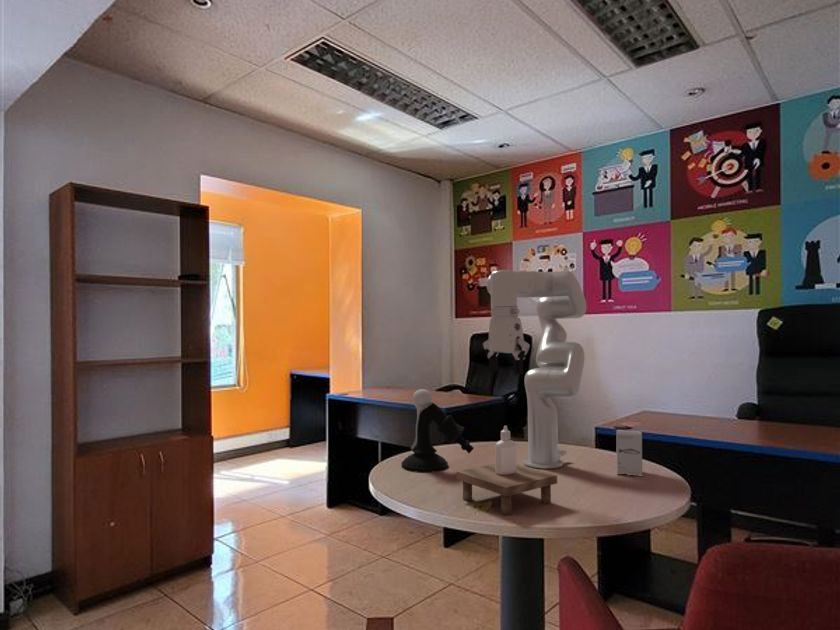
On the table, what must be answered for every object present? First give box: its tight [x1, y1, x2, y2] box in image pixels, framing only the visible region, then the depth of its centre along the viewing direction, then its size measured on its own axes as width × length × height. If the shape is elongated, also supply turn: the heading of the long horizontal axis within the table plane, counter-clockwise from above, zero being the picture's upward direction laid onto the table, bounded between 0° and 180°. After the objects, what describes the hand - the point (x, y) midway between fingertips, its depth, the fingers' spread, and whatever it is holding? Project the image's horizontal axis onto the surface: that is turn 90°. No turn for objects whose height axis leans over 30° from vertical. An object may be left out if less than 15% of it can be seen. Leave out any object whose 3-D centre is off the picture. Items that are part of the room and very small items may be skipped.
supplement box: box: [615, 429, 643, 476], centre depth 159 cm, size 7×7×13 cm
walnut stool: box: [456, 463, 558, 517], centre depth 132 cm, size 18×18×7 cm
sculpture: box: [401, 388, 475, 473], centre depth 168 cm, size 15×24×25 cm, turn 76°
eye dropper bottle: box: [494, 425, 517, 475], centre depth 133 cm, size 4×6×12 cm
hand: (506, 372), depth 148 cm, fingers open, 9 cm apart
